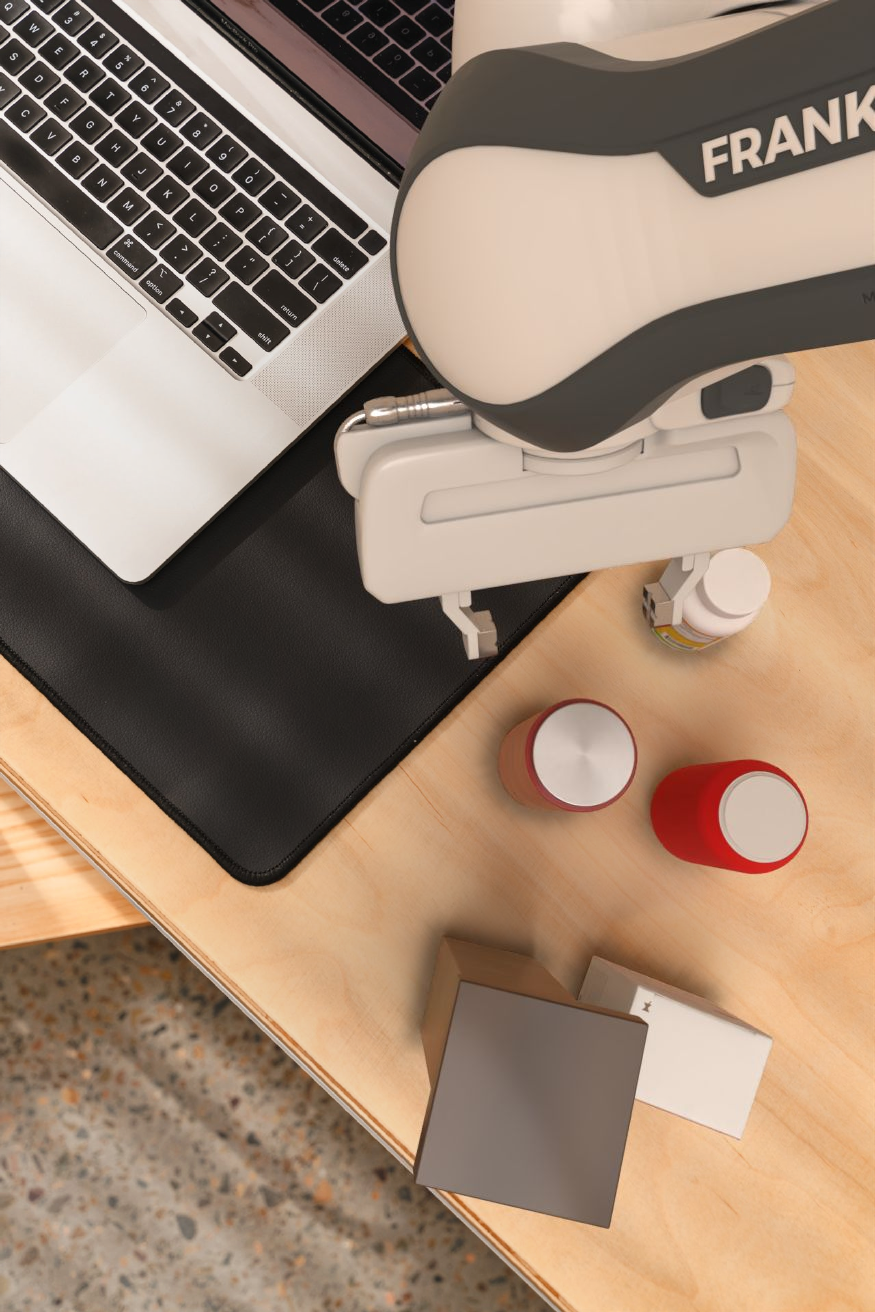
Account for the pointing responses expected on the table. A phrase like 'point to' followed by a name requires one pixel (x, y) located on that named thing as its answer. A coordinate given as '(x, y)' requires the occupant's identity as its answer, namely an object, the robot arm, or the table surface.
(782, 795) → the beverage can
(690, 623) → the supplement bottle
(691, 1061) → the small box
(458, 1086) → the walnut stand
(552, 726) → the soda can
